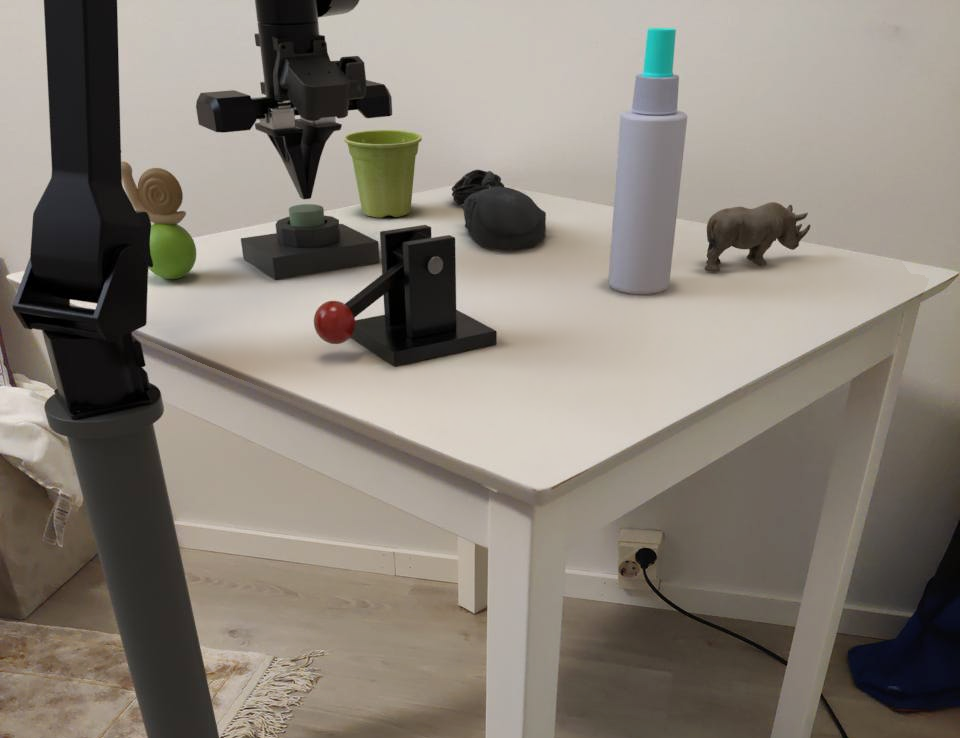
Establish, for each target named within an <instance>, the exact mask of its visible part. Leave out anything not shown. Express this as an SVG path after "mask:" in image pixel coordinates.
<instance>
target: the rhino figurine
mask: <svg viewBox="0 0 960 738" xmlns="http://www.w3.org/2000/svg"><path fill="white" fill-rule="evenodd" d="M793 210H794V209H793V205H792V204H789V205H788V206H787V207H785V206H784V205H783V204H781V203H779V202H776V201H771V202H767V203H764V204H762V205H759V206H757V207H753V208H748V207H744V206H740V205H739V206H733V207H729V208H728V207H727V208H723V209H720V210H717V211H716V212H715V213H714V214H712V215H711V216H710V217H709V219H708V222H707V224H706V237H707V238H706V239H707V242H708V247H707V250H706V258H707V260H706V262H705V263H706V265H705V266H704V268H703V269H704V271H706V272H711V273H717V272H720V271H721V267H720V265H721V264H722V262H721V259H720V257H721V255H722V254H723V253H724V252H725V251H726V250H728V249H730V248H731V247H732V248H735V249H738V250H748V254H747V255H746V260H748V261H752V264H753V265H755V266H757V267H765V266H767V265H768V263H767V260H766V259H765V258H764V255H765V253H766V252H767V251H768V250H769V249H770V248H771V247H772V245H773V243H774V242H776V241H778V243H779V244H780V245H781V246H782V247H785V248H787V249H789V250H791V251H793V250H796V249H797V248H798V247H800V243H801V240H802V239H803V238H804V237H805V236H806V235H807V233H809V231H810V229H811V224H808V225H807V226H806V227H805V228H804V229H803V230H801V228H802V227H803V223H800V224H798V225H797V222H801V221H802V220H805V219H806V218H807V216H808V215H809V212H805V213H799V214H796V213H795V212H793Z"/></svg>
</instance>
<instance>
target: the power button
mask: <svg viewBox="0 0 960 738" xmlns="http://www.w3.org/2000/svg"><path fill="white" fill-rule="evenodd" d="M324 210H325V209H324V206H322V205H320V204H313V203H312V204H311V203H306V204H304V203H303V204H296V205H293V206H292V205H291V206H290V207H288V215H289V216H288V217H290V225H291V226H296V227H313V226H320V225H323V224H325V220H324V215H325V211H324Z"/></svg>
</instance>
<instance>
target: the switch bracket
mask: <svg viewBox="0 0 960 738" xmlns="http://www.w3.org/2000/svg"><path fill="white" fill-rule="evenodd" d="M418 232H420V233H422V234H424V235H426V236H429V237H431V238H427V239H421V240H415V241H408V242H406V241H407V240H409V239H410V238H411V237H412V236H414V235H415V234H416V233H418ZM379 240H380V241H379V242H380V257H381V258H380V259H381V275H382V274H383V273H385V272H386V271H387V270H389V269H390V268H391V267H392V266H394V265H395V264H396V263H397V262H398V261H397V259H396V257H395V255H394V253H393V251H395V250H396V249H397V248H398V247H400V246H401V245H402V244H403V260H404V279H403V280H402V281H400V282H399V283H398V284H397V285H395V286H394V287H393V288H392V289H390V290H389V291H388V292H387V293H385V294H384V295H383V308H384V314H381V315H376V316H370V317H365V318H359V319H355V330H354V332H353V334H352V336H351V337H350V339H352V340H354V341H355V342H357V343H358V344H360V345H362V346H363V347H365V348H366V349H368V350H369V351H370V352H372V353H374V354H375V355H376V356H378V357H380V358H381V359H383V360H384V361H386V362H387V363H389V364H390V365H391V366H393V367H399V366H403V365H408V364H412V363H417V362H422V361H426V360H431V359H436V358H439V357H440V358H441V357H445V356H449V355H454V354H459V353H463V352H467V351H472V350H478V349H481V348H486V347H490V346H494V345H497V341H498V335H497V334H498V332H497V330H496V329H494V328H492V327H490V326H489V325H486V324H485V323H483V322H481V321H479V320H477V319H475V318H473V317H472V316H469V315H467V314H466V313H463V312H461V310H459V309H457V265H456V259H457V258H456V237H455V236H453V235H450V234H447V235H441V236H434V237H432V227H431V226H430V225H427V224H421V225H414V226H408V227H401V228H394V229H388V230H381V231H379Z"/></svg>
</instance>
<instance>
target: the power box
mask: <svg viewBox="0 0 960 738" xmlns="http://www.w3.org/2000/svg"><path fill="white" fill-rule="evenodd" d="M324 220H325V224H323V225H320V226H313V227H296V226H291V225H290V216H286V217H284V218H280V219H278V220H276V222H275V232H274V233H269V234H262V235H261V234H260V235H254V236H253V235H252V236H247V237H241V238H240V244H241V251H242V258H243V260H244V261H245V262H247V263H248V264H250V265H252V266H253V267H255V268H256V269H257V270H259V271H261V272H262V273H264V274H265V275H267V276H268V277H271V279H273V280H275V281H276V280H282V279H289V278H295V277H301V276H306V275H312V274H319V273H325V272H330V271H331V272H332V271H337V270H343V269H350V268H355V267H362V266H368V265H375V264H378V263H380V262H381V261H380V246H379V245H380V244H379V241H378V240H377V239H375V238H372V237H370V236H368V235H366V234H364V233H362V232H361V231H359V230H356V229H354V228H353V227H350V226H347V225H346V224H343V223H340V219H338V218H336V217H334V216H331V215H325V214H324Z"/></svg>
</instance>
